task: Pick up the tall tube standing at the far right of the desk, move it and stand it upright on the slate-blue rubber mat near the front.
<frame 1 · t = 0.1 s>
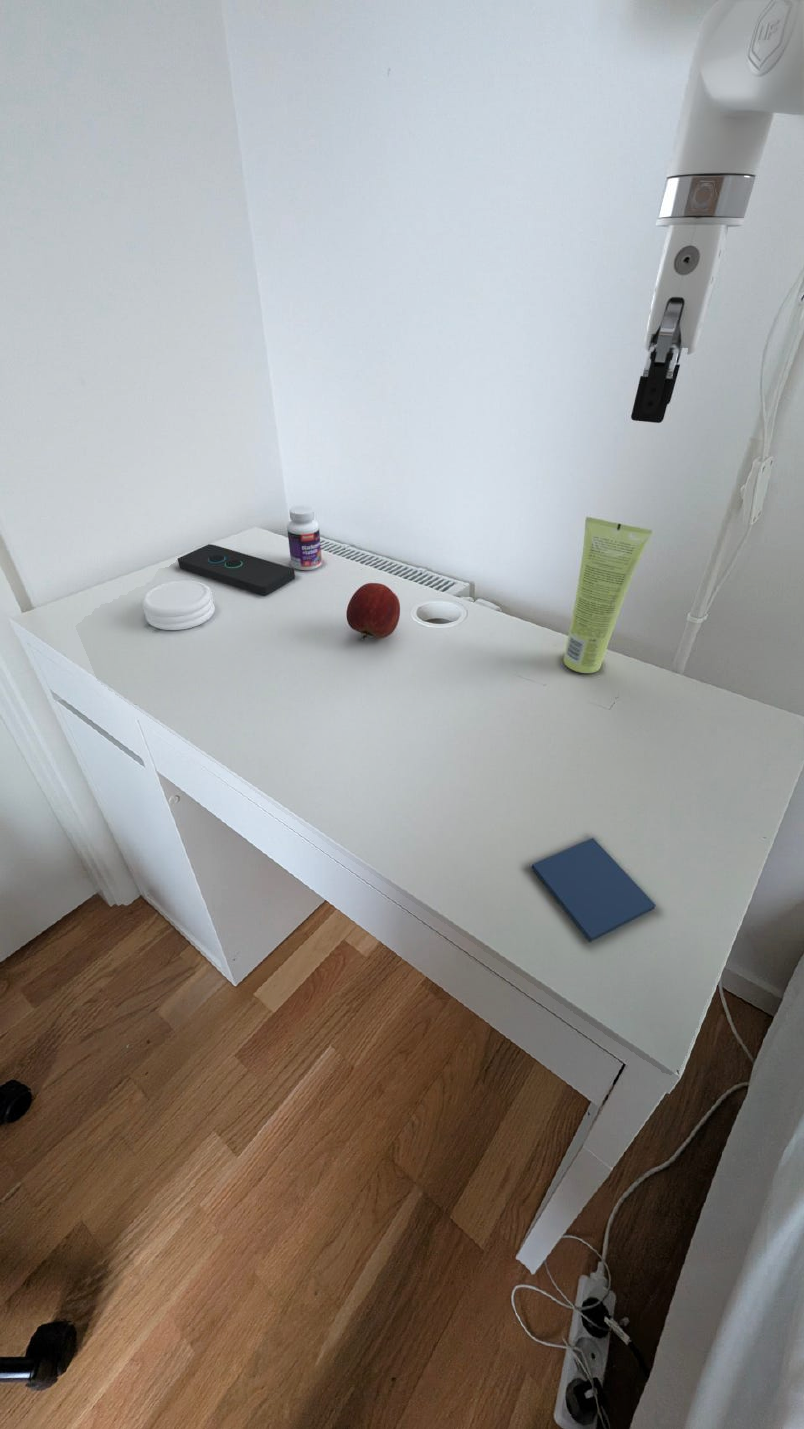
hand: (650, 411, 64), 30 cm above the table, tool pointing down, fingers open, 9 cm apart
smart home device: (236, 573, 99), on the table
coaster: (182, 616, 88), on the table
mat: (590, 887, 51), on the table
pill bottle: (307, 565, 102), on the table
apple: (374, 636, 84), on the table
tube: (582, 666, 78), on the table
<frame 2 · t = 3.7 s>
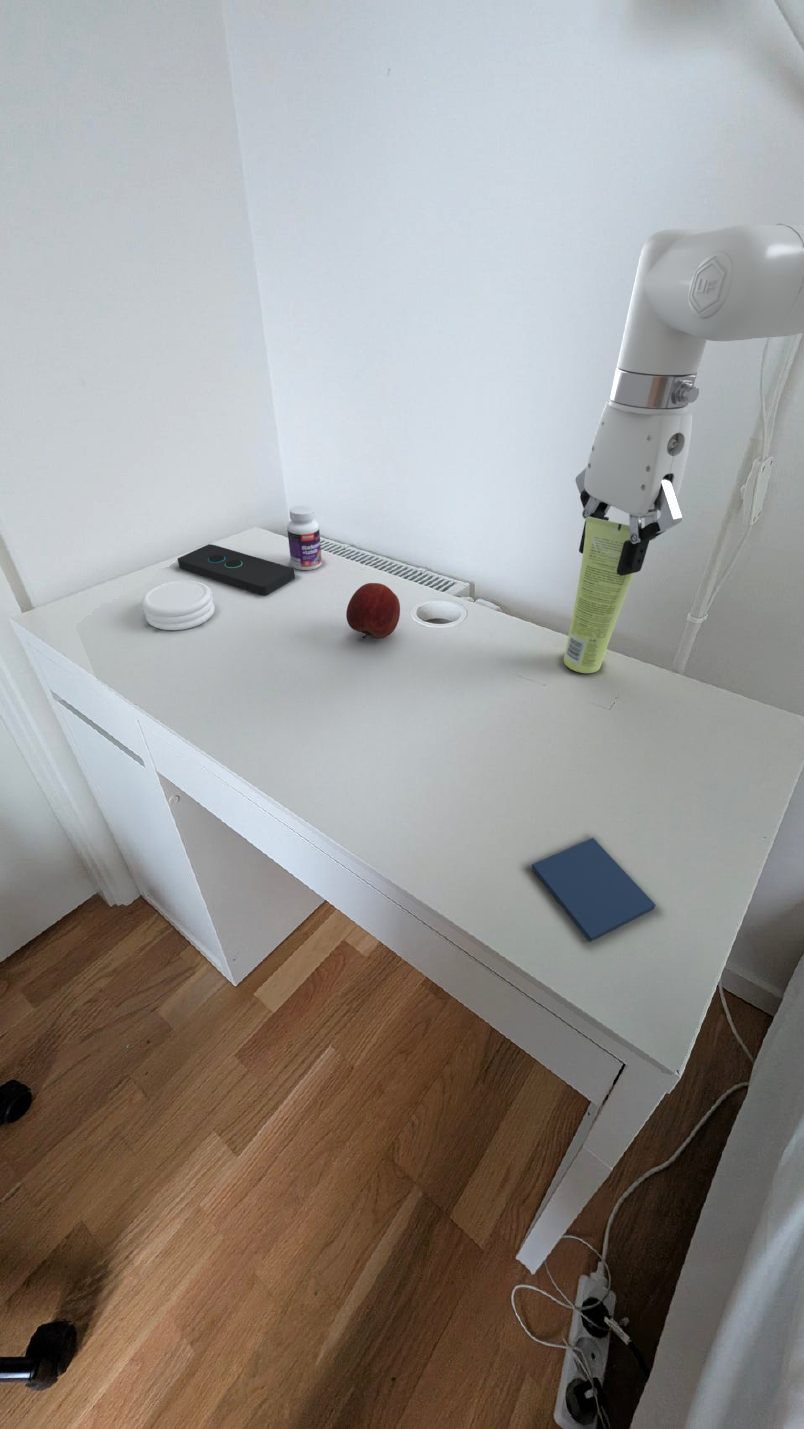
hand: (608, 560, 69), 15 cm above the table, tool pointing down, fingers closed on tube, 5 cm apart
tube: (582, 666, 78), on the table, touching gripper
everything else where it was.
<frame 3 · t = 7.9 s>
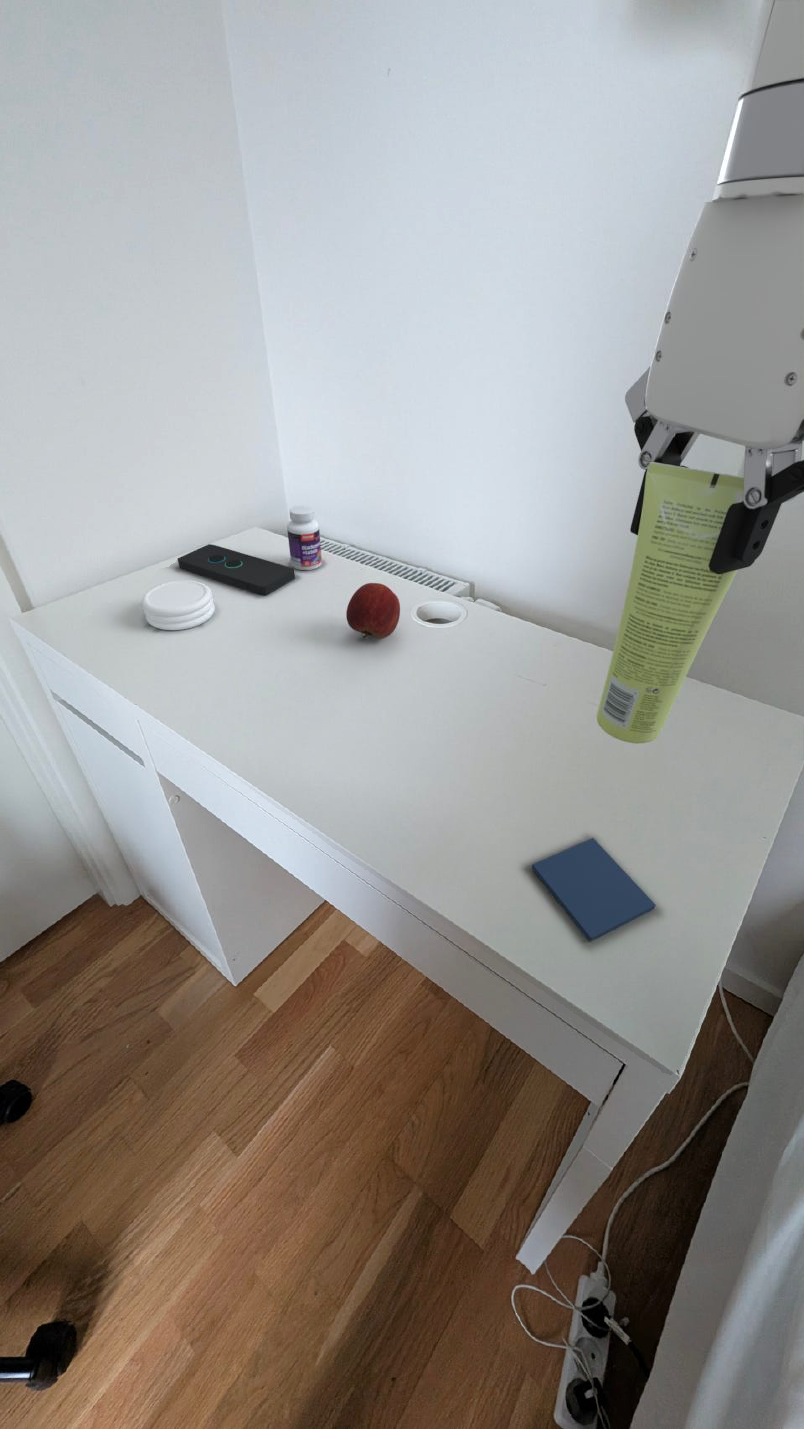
hand: (688, 546, 37), 29 cm above the table, tool pointing down, fingers closed on tube, 5 cm apart
tube: (629, 728, 46), point 14 cm above the table, touching gripper
everything else where it was.
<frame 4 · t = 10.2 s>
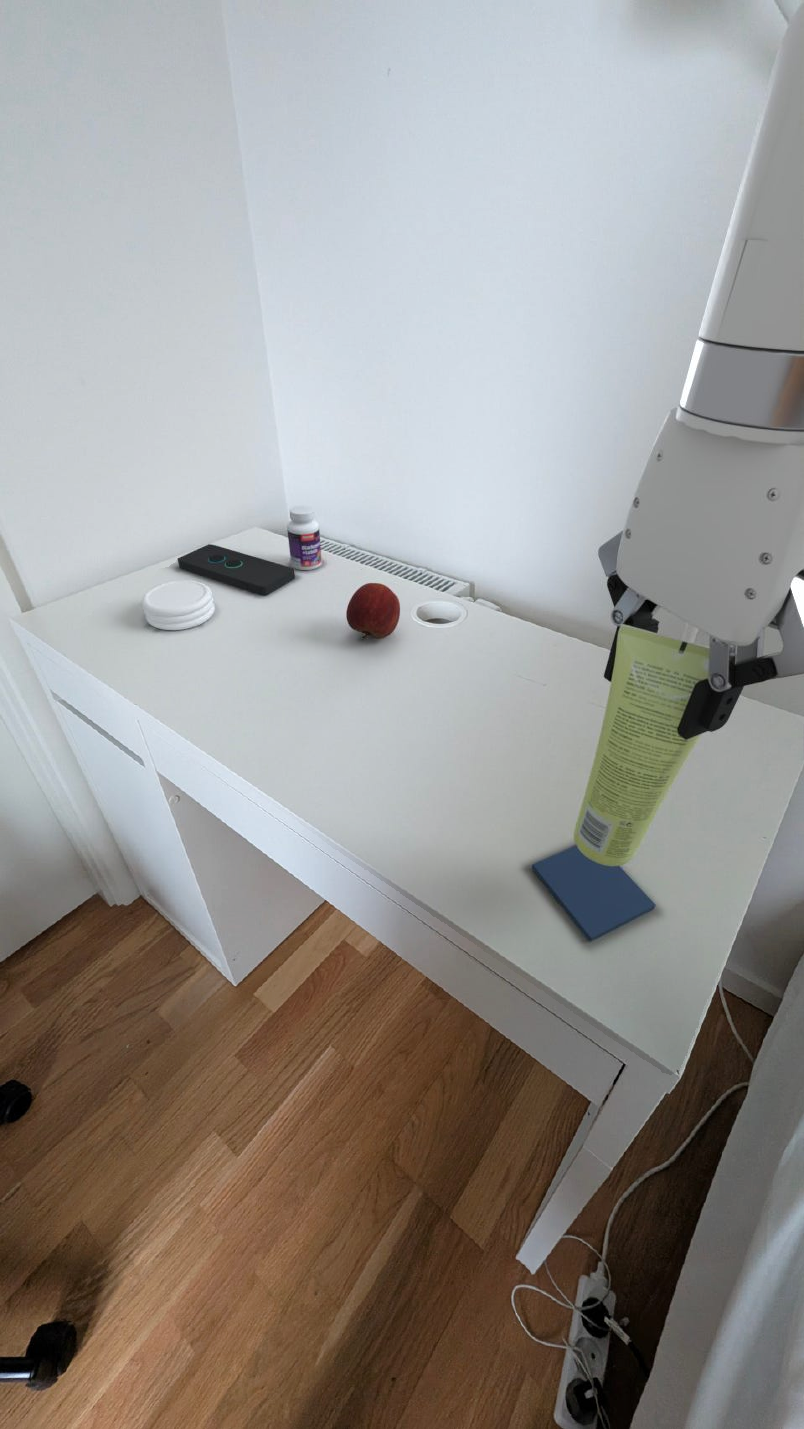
hand: (659, 699, 38), 21 cm above the table, tool pointing down, fingers closed on tube, 5 cm apart
tube: (605, 845, 47), point 6 cm above the table, touching gripper
everything else where it was.
when the fingers open (16 cm above the table, at t = 12.0 s): tube stays where it is, resting on mat.
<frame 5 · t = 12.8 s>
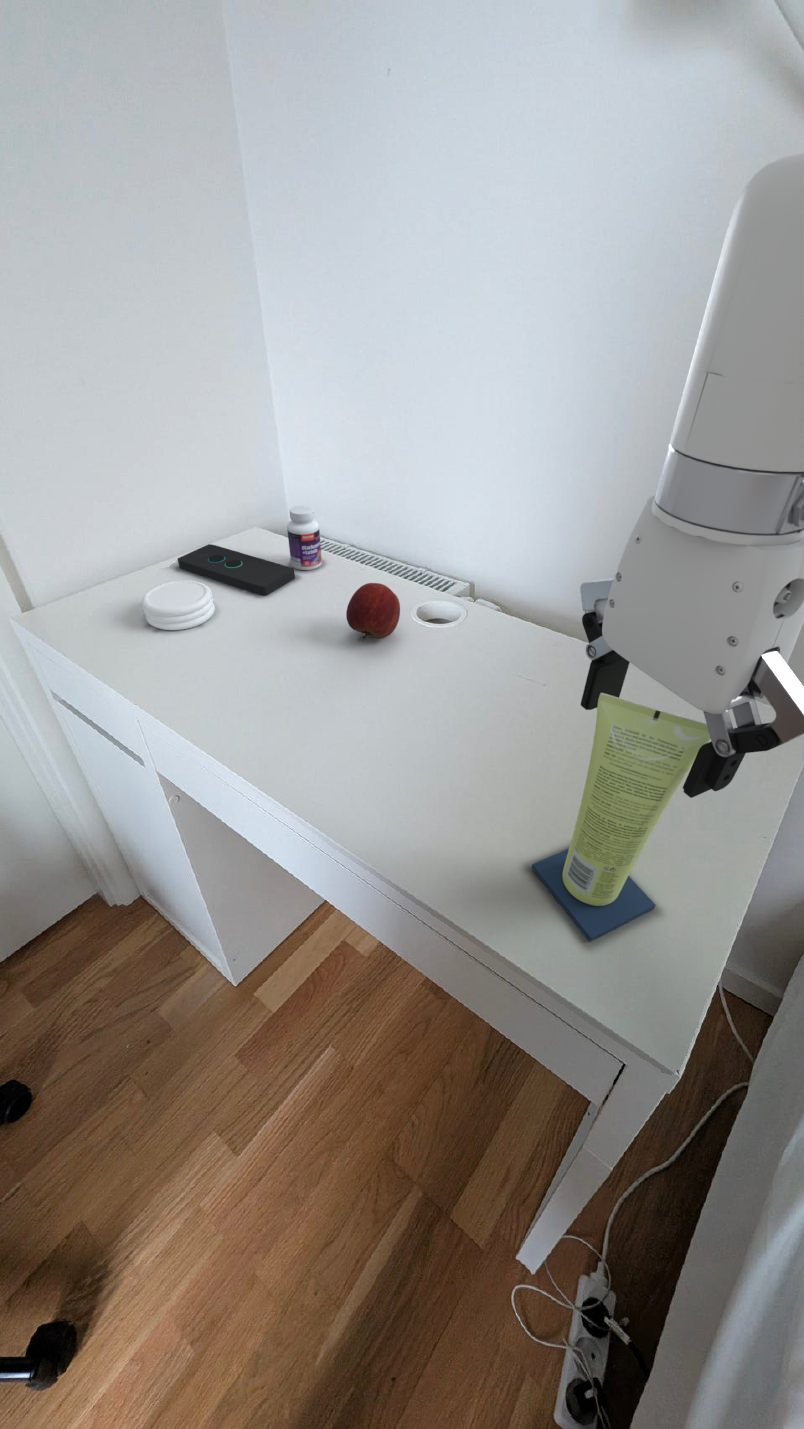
hand: (646, 742, 40), 17 cm above the table, tool pointing down, fingers open, 9 cm apart
tube: (592, 885, 51), resting on mat
everything else where it was.
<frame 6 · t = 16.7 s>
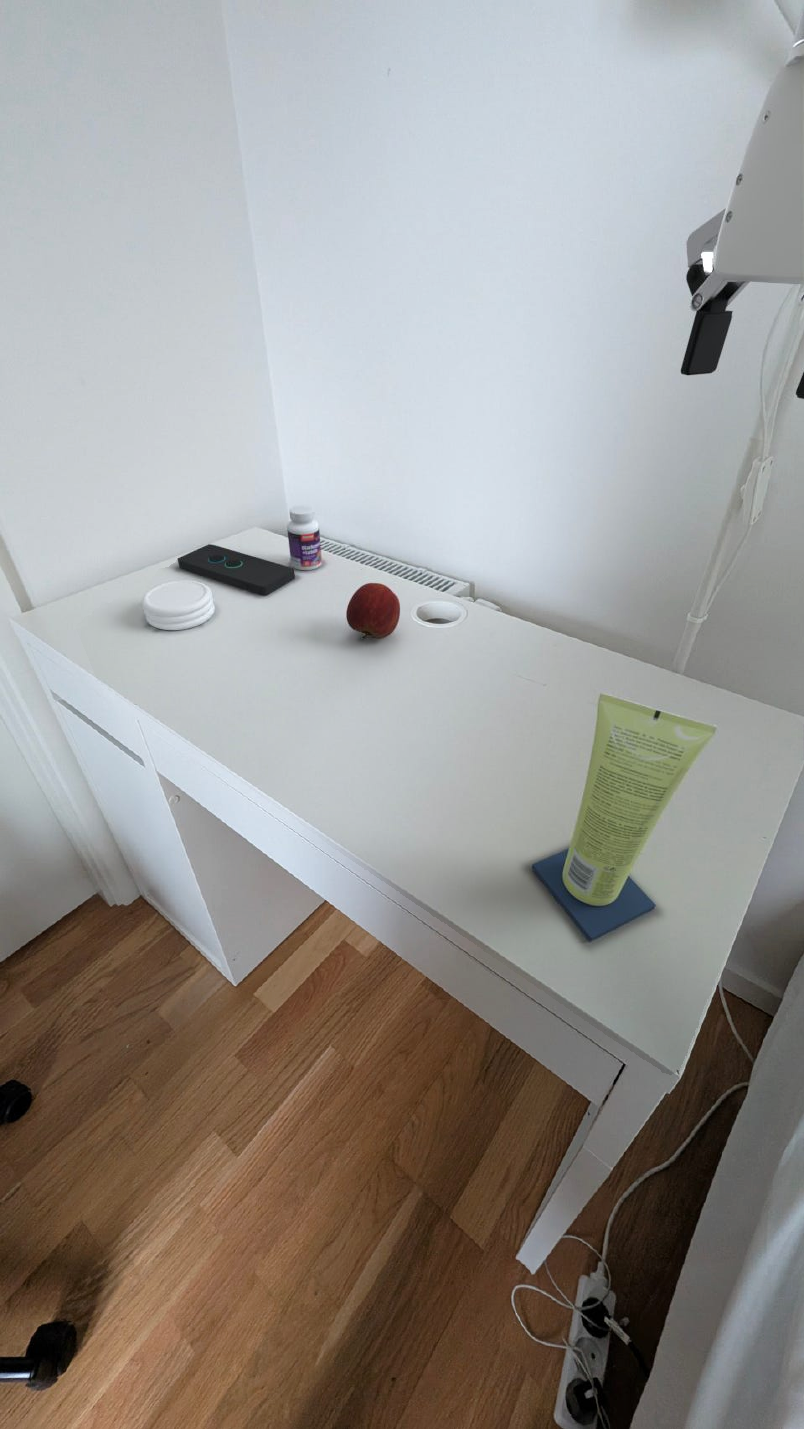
hand: (750, 384, 42), 36 cm above the table, tool pointing down, fingers open, 9 cm apart
nothing on the table moved.
at the end: tube 0.0 cm off-centre on the mat, point 0.4 cm above the mat's base; tube tilted 0°; tube moved 35.9 cm from its start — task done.
